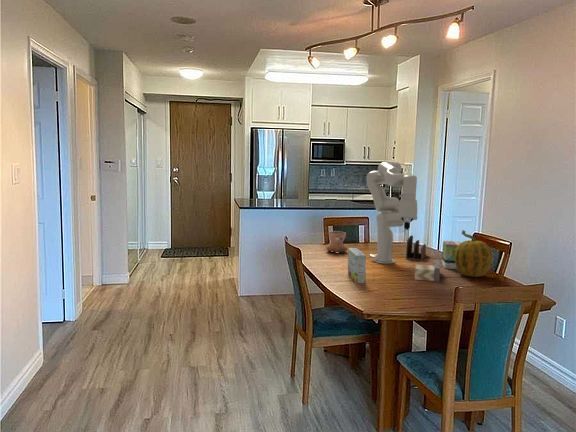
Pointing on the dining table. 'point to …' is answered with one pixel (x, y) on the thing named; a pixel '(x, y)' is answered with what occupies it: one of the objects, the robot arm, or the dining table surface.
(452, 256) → the tea box
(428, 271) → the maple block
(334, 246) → the brown piece
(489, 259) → the pumpkin
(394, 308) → the dining table surface
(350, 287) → the dining table surface
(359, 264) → the snack box
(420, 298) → the dining table surface
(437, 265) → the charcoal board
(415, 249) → the letter holder
